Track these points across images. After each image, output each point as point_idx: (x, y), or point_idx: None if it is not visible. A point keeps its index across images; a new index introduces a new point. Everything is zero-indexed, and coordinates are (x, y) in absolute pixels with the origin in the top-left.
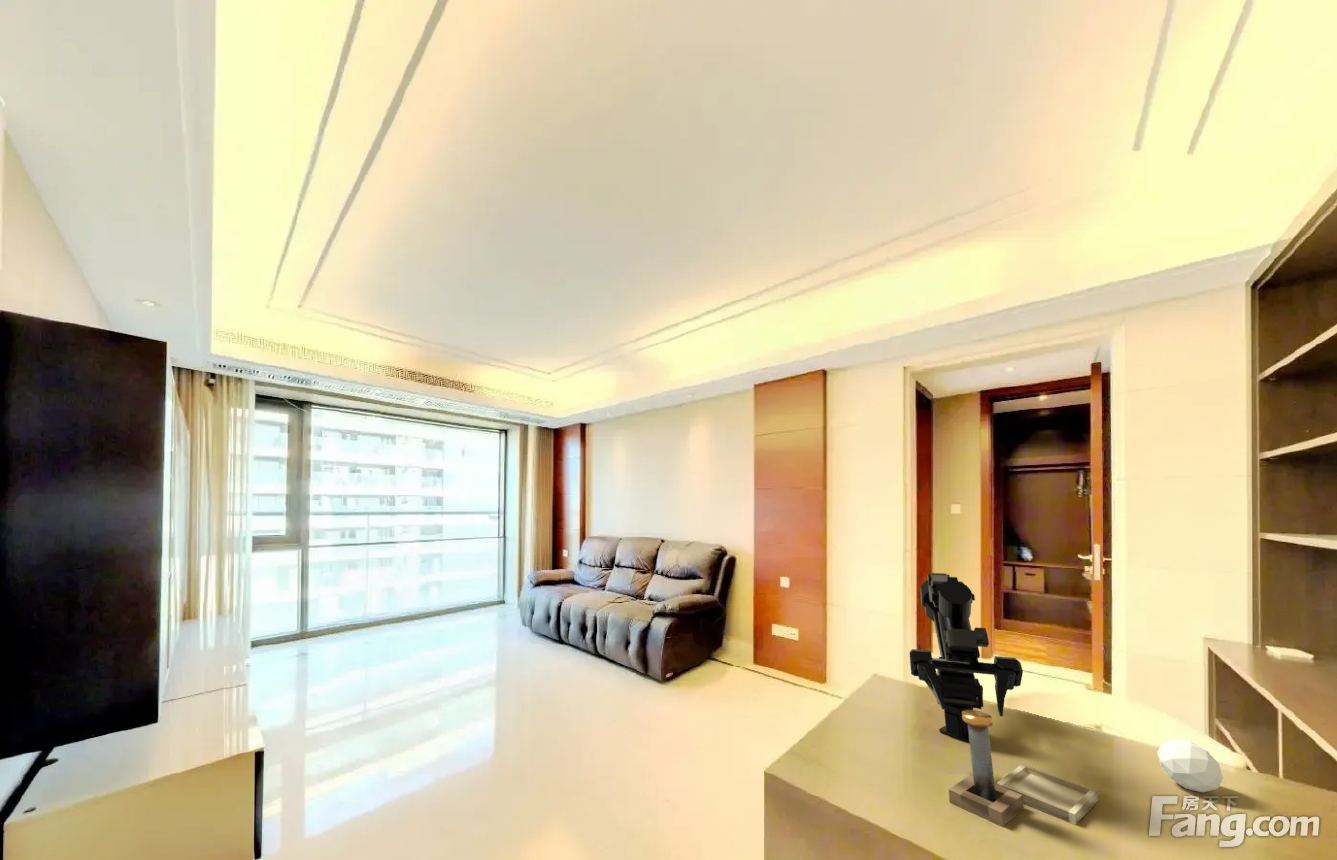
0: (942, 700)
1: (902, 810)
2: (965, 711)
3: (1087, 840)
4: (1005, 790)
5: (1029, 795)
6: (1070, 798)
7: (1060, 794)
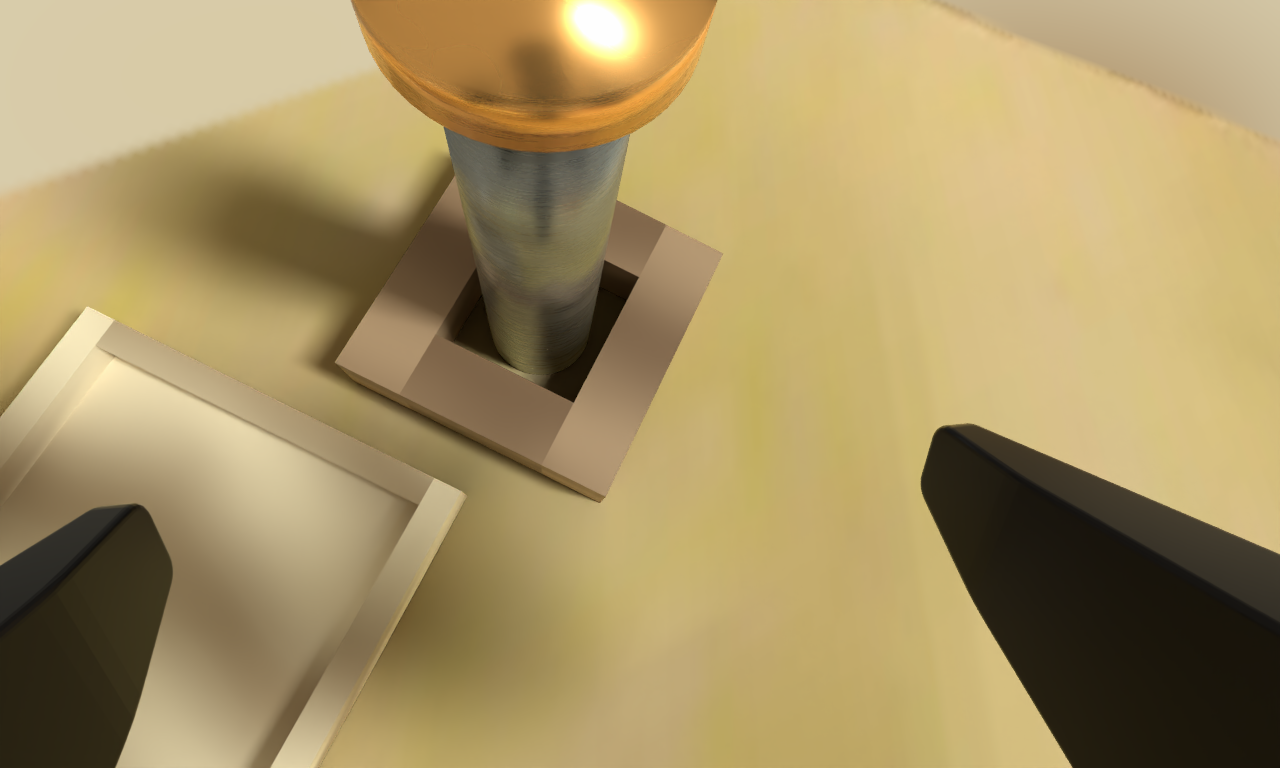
0: (1009, 454)
1: (888, 135)
2: (678, 3)
3: (117, 210)
4: (423, 372)
5: (290, 416)
6: None
7: None
